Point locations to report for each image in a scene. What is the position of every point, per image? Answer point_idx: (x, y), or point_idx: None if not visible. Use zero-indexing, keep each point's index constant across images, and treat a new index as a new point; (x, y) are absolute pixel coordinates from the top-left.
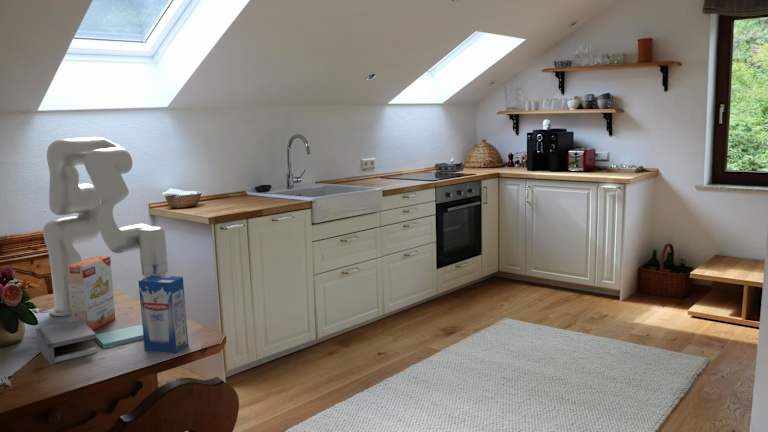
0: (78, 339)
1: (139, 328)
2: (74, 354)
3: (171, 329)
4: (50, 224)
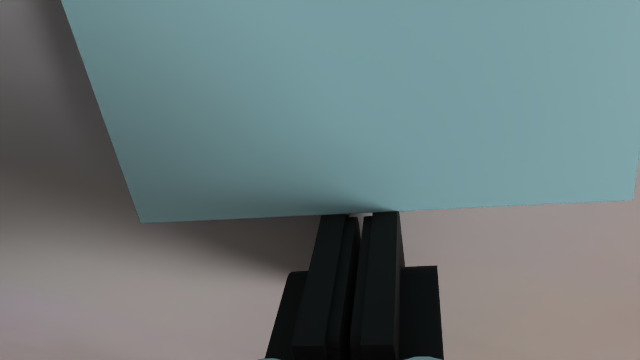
0: None
1: (439, 9)
2: None
3: None
4: None
